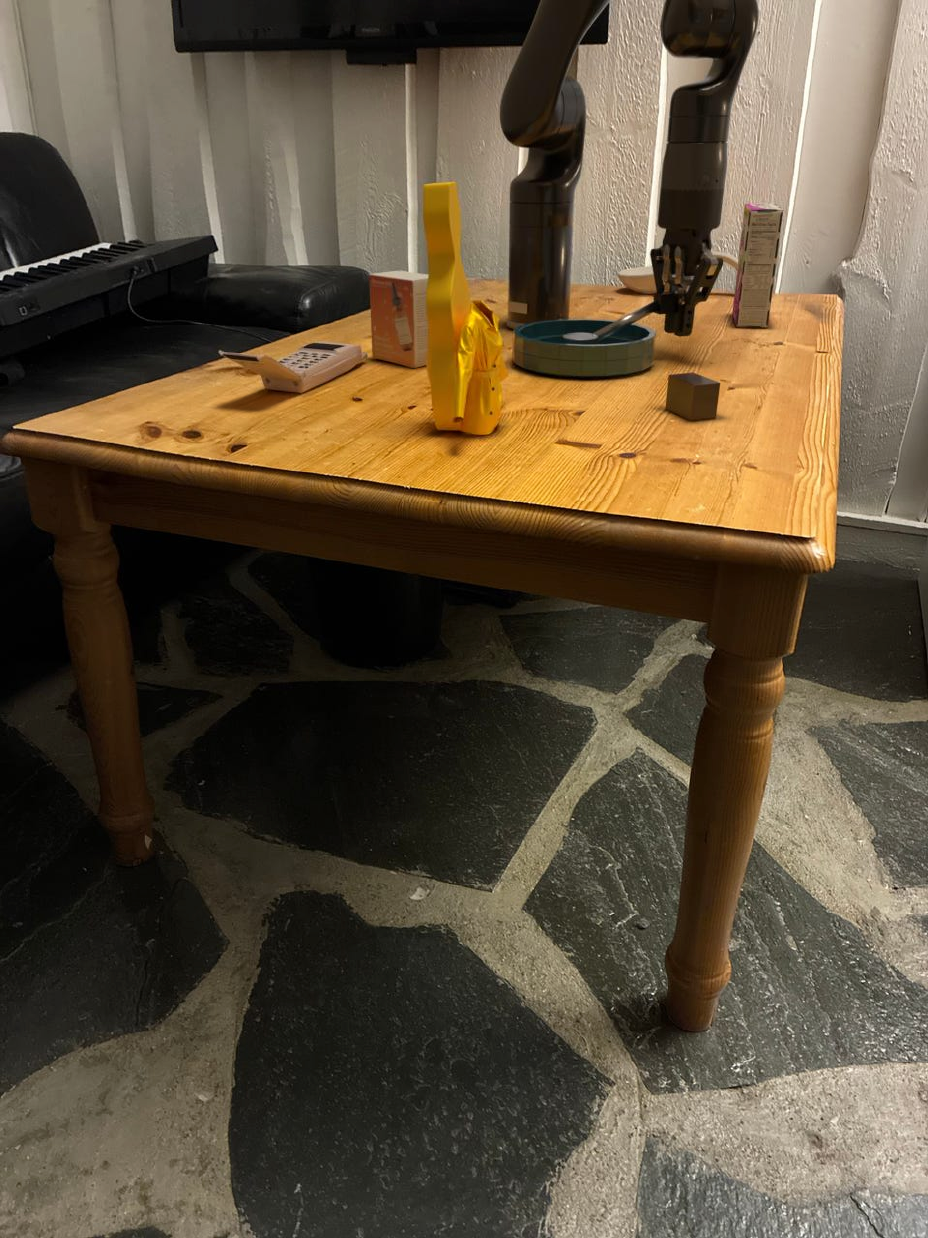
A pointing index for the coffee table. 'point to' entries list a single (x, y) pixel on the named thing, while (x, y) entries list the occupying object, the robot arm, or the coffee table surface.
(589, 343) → the ladle
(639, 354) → the bowl
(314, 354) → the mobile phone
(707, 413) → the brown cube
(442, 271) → the figure statuette
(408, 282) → the small box
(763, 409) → the coffee table surface
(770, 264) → the candy bar box
